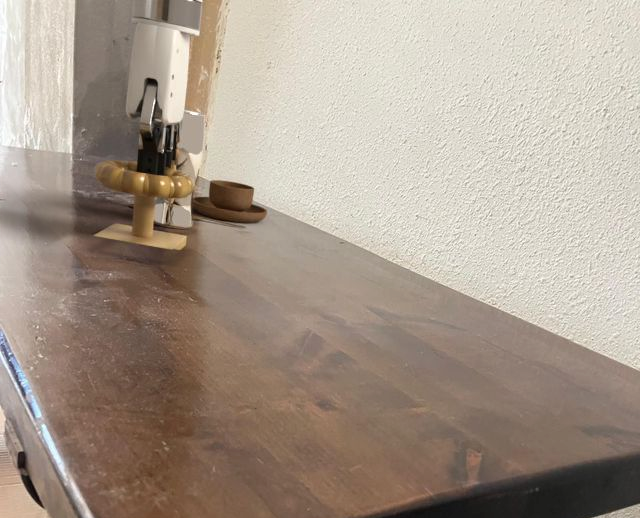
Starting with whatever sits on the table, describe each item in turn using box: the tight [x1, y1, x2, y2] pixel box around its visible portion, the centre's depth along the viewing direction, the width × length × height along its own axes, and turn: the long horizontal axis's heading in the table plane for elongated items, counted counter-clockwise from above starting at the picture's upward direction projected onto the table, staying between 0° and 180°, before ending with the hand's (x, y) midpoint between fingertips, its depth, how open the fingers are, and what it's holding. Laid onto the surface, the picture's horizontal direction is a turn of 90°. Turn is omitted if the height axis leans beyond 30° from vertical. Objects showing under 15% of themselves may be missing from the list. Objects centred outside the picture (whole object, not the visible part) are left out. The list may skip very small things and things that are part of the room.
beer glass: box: [153, 108, 206, 230], centre depth 101 cm, size 7×7×15 cm
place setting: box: [129, 179, 268, 228], centre depth 117 cm, size 18×20×6 cm
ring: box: [93, 159, 196, 199], centre depth 86 cm, size 11×11×2 cm
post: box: [93, 173, 188, 251], centre depth 88 cm, size 9×9×8 cm
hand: (153, 183), depth 91 cm, fingers closed on ring, 2 cm apart
